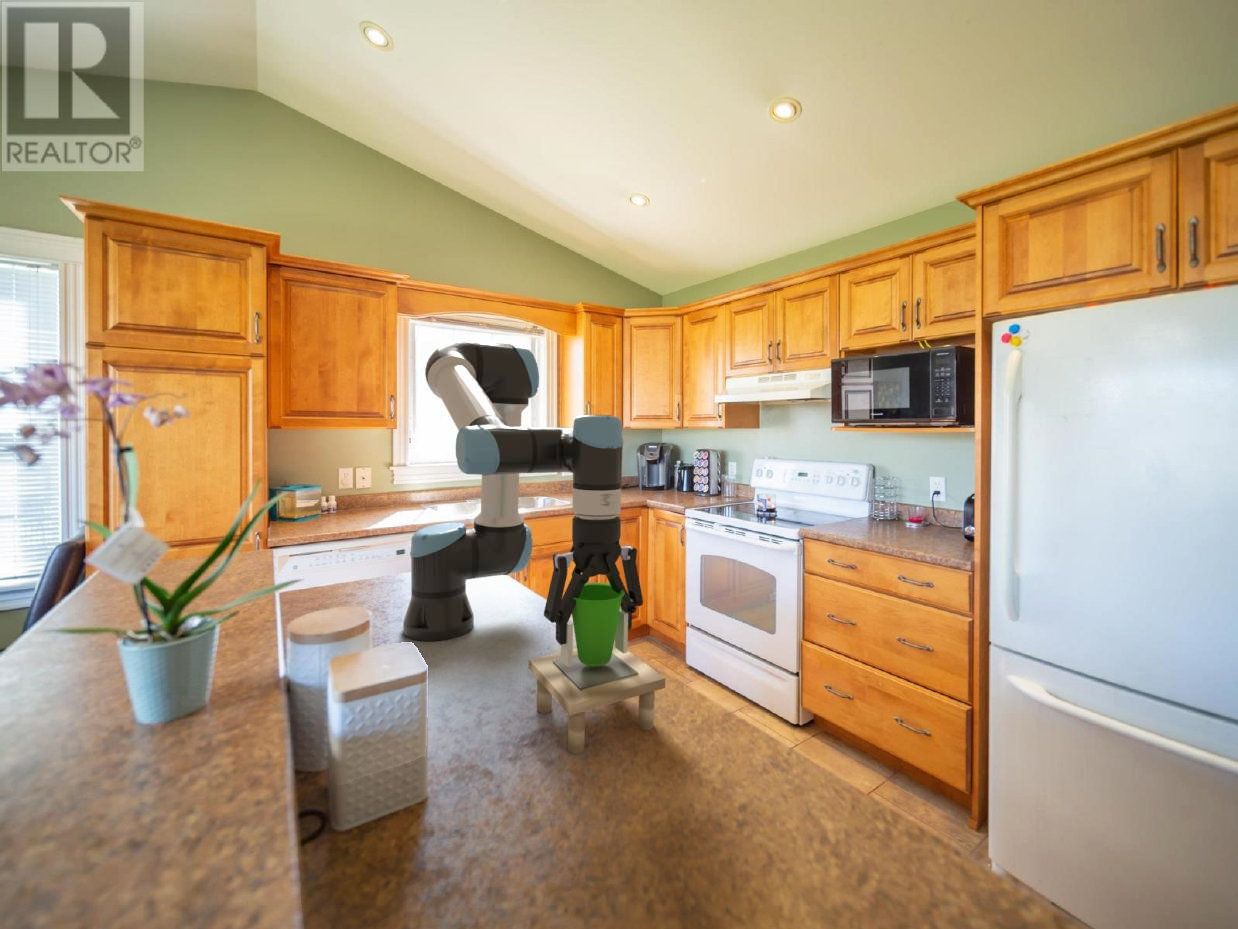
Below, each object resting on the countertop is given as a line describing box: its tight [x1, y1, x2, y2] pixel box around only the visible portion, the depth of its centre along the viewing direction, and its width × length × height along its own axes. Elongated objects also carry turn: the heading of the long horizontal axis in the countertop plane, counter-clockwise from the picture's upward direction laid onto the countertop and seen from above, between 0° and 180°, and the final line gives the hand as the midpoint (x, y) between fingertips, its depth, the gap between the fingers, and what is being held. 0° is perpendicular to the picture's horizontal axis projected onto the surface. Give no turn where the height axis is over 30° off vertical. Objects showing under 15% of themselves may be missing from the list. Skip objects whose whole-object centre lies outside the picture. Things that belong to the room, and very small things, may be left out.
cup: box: [571, 582, 625, 666], centre depth 81 cm, size 9×9×11 cm
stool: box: [528, 640, 666, 755], centre depth 82 cm, size 16×16×8 cm
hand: (594, 656), depth 81 cm, fingers closed on cup, 9 cm apart
